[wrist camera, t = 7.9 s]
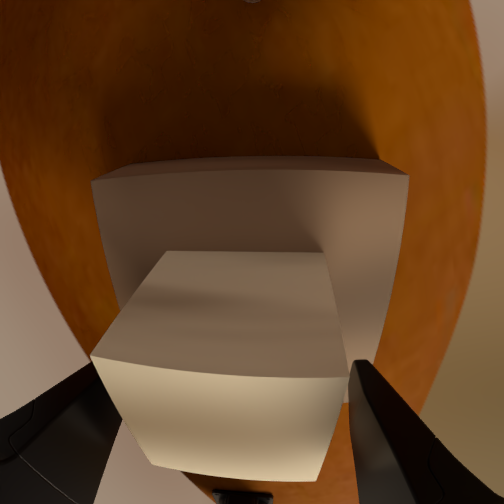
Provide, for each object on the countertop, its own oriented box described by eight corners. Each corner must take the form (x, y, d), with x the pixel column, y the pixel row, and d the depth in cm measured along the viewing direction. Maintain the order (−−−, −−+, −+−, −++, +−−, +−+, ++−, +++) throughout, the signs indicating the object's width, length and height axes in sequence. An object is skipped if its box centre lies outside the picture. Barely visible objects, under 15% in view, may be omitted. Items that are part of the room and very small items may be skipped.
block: (311, 367, 11) (315, 481, 7) (188, 361, 12) (152, 464, 8) (323, 252, 9) (349, 376, 5) (166, 250, 10) (89, 355, 5)
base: (351, 357, 15) (360, 401, 12) (166, 350, 16) (148, 389, 13) (380, 159, 11) (409, 175, 8) (129, 163, 12) (90, 180, 9)
